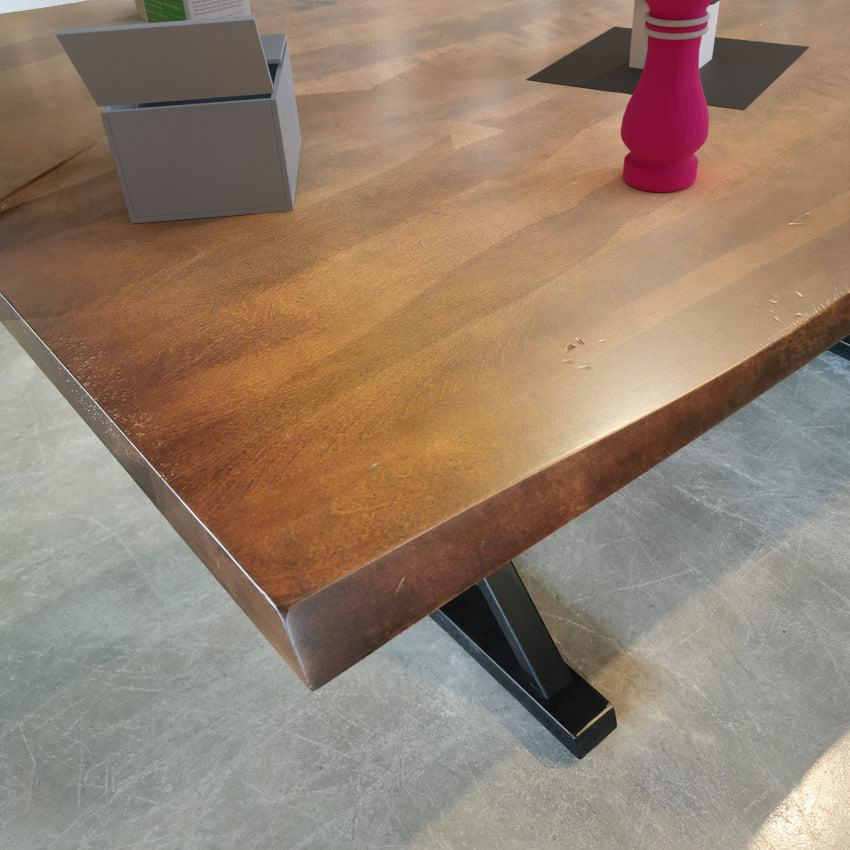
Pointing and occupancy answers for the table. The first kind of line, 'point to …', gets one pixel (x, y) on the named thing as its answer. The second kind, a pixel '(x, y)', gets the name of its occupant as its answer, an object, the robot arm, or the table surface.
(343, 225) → the table surface
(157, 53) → the flap
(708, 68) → the dark grey square mat
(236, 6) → the cosmetic box
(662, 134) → the pepper mill
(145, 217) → the carton
